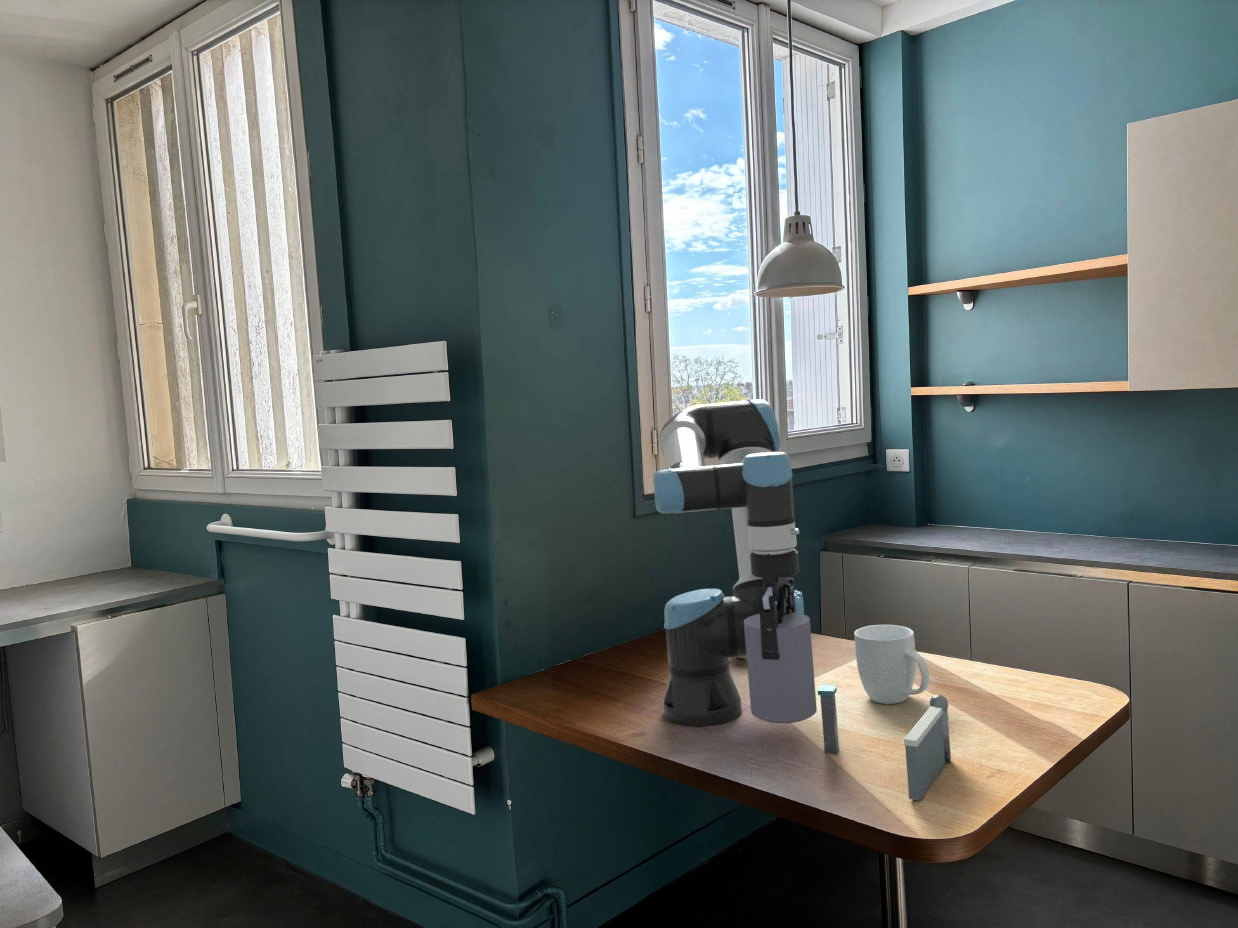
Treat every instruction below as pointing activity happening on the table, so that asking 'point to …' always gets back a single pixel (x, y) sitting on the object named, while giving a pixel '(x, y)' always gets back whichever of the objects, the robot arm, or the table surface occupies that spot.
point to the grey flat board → (924, 752)
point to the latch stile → (829, 718)
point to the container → (781, 671)
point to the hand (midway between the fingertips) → (784, 690)
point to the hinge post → (943, 703)
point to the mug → (889, 663)
